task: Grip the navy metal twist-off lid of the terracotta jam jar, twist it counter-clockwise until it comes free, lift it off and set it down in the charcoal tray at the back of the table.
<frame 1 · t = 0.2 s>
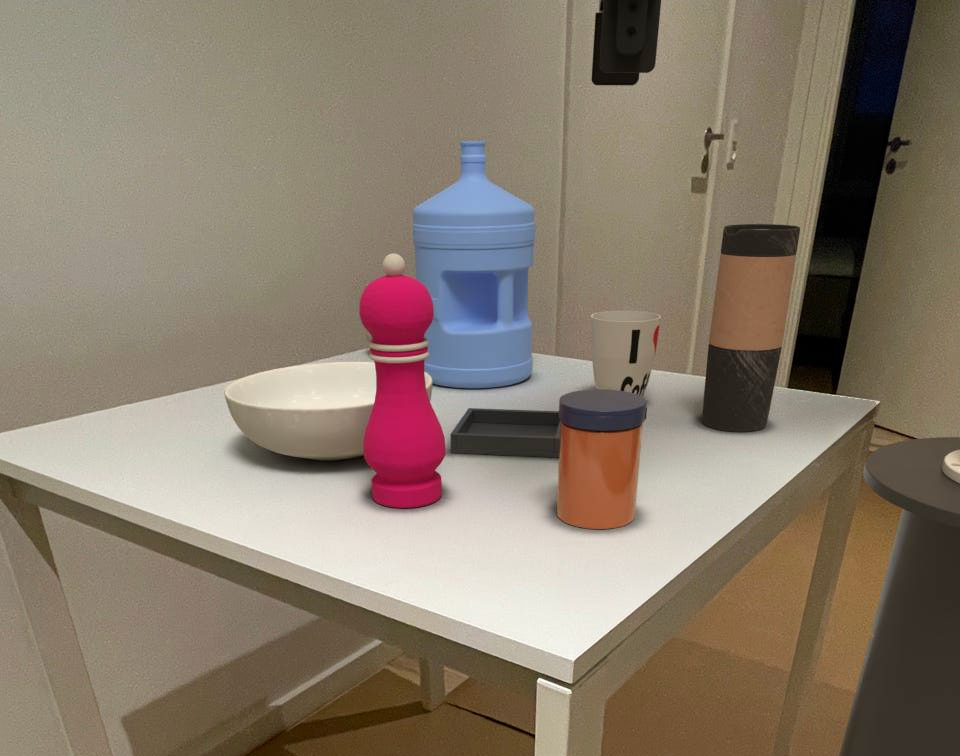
hand: (620, 79, 53), 31 cm above the table, tool pointing down, fingers open, 9 cm apart
water jug: (475, 378, 116), on the table
serving bowl: (336, 449, 89), on the table
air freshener: (402, 354, 130), on the table
jar lid: (602, 404, 67), point 9 cm above the table, screwed on, not yet turned
tray: (511, 440, 90), on the table
travel mug: (733, 424, 95), on the table
jar: (595, 514, 71), on the table
pepper mill: (407, 498, 76), on the table
cup: (619, 403, 104), on the table
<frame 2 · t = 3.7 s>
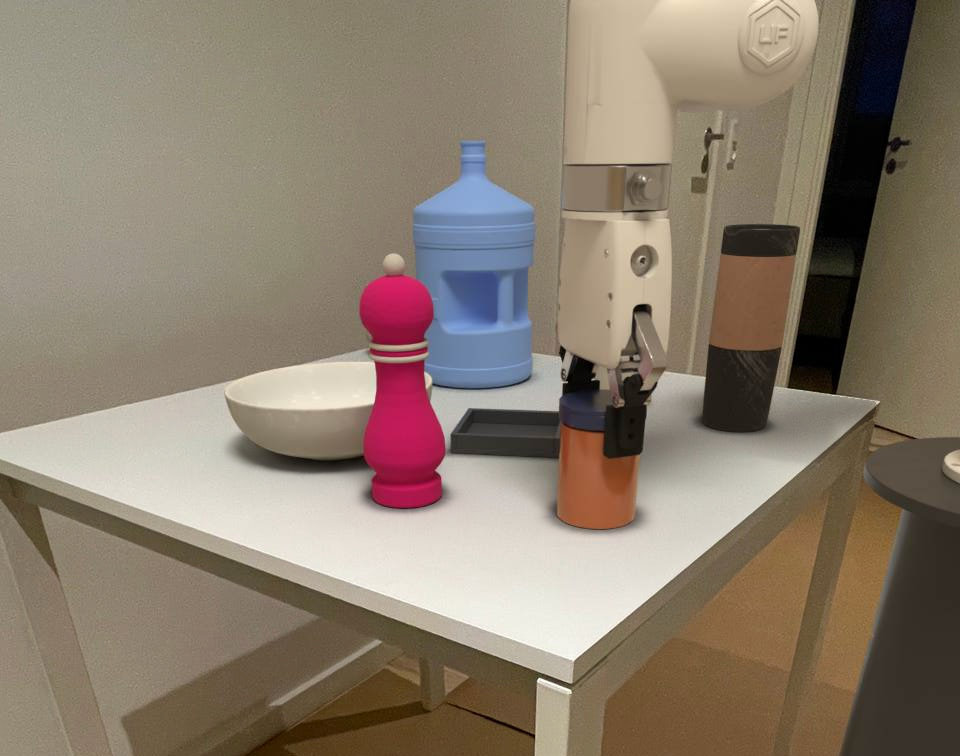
hand: (599, 440, 68), 6 cm above the table, tool pointing down, fingers closed on jar lid, 6 cm apart
jar lid: (602, 404, 67), point 9 cm above the table, screwed on, not yet turned, touching gripper
everything else where it was.
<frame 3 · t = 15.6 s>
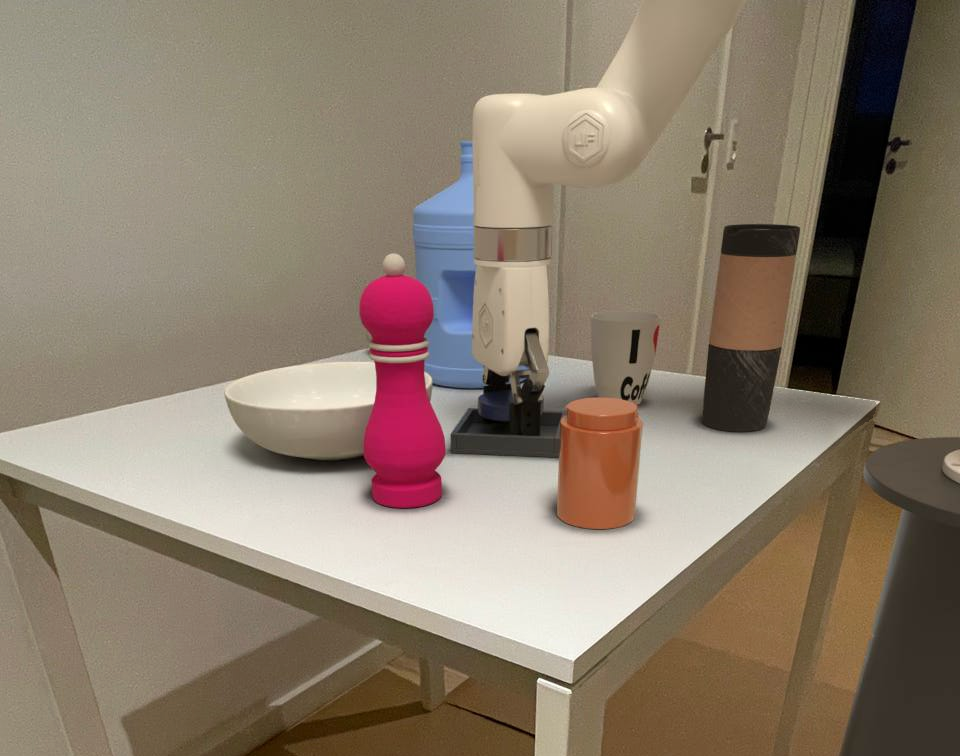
hand: (510, 429, 89), 1 cm above the table, tool pointing down, fingers closed on jar lid, 6 cm apart
jar lid: (510, 401, 88), point 4 cm above the table, off its thread, touching gripper
everything else where it was.
when the fingers open (2 cm above the table, at t = 20.0 s): jar lid stays where it is, resting on tray.
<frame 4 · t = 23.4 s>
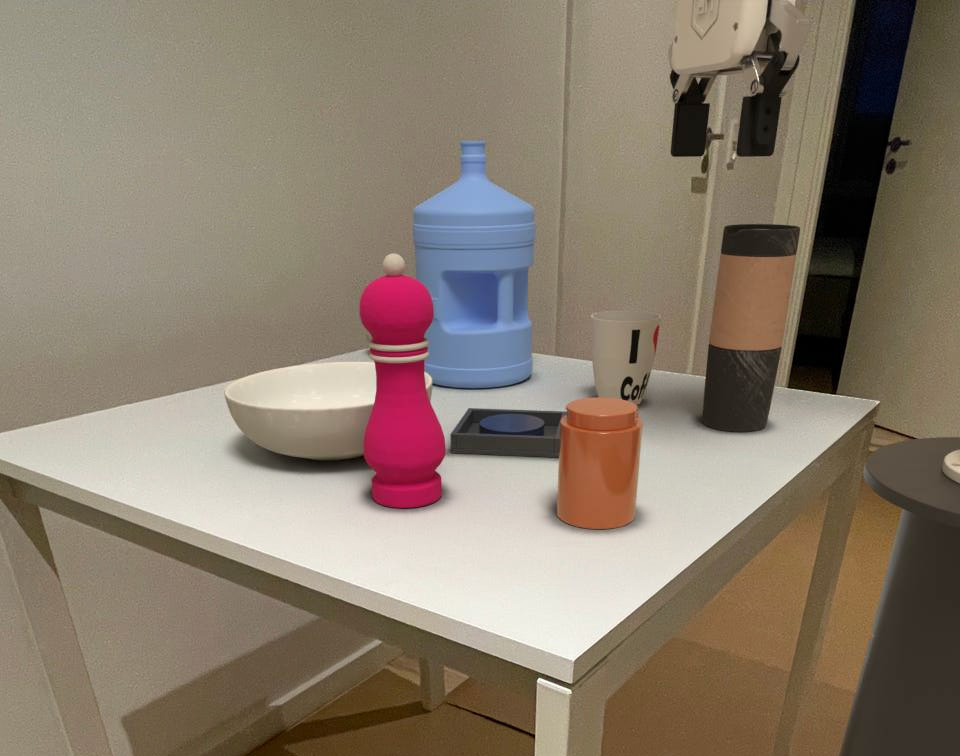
hand: (719, 156, 71), 26 cm above the table, tool pointing down, fingers open, 9 cm apart
jar lid: (511, 426, 89), point 2 cm above the table, off its thread, touching tray
everything else where it was.
at the end: jar lid inside the target area in the tray (0.1 cm from its centre), point 1.6 cm above the tray's base; jar lid point 1.6 cm above the table; the gripper is holding nothing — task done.
